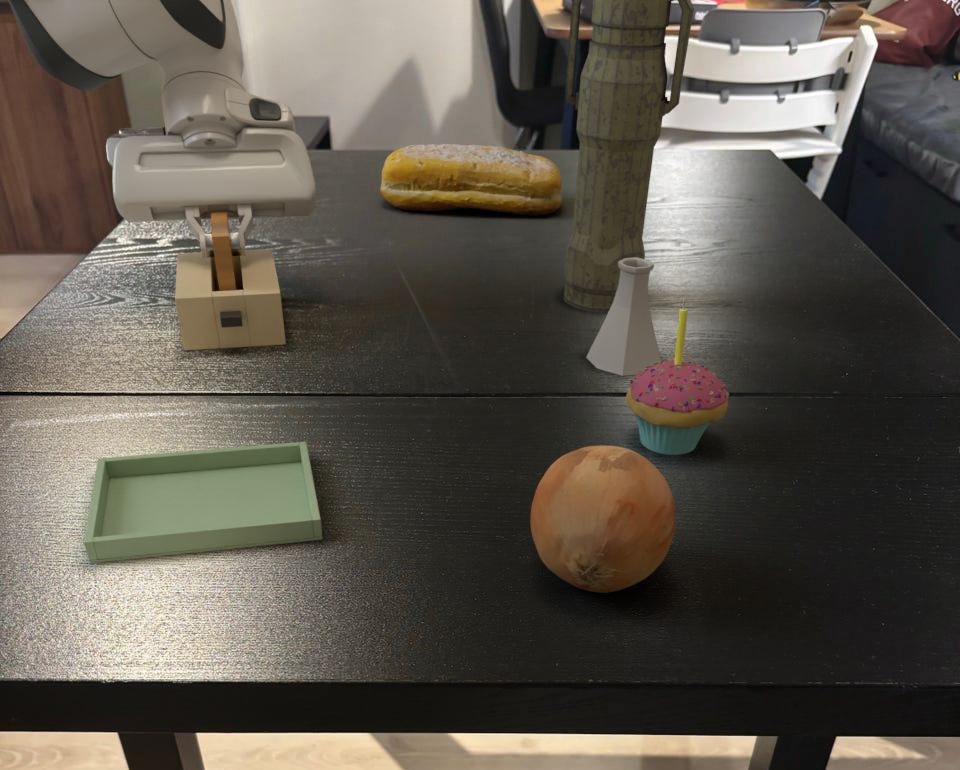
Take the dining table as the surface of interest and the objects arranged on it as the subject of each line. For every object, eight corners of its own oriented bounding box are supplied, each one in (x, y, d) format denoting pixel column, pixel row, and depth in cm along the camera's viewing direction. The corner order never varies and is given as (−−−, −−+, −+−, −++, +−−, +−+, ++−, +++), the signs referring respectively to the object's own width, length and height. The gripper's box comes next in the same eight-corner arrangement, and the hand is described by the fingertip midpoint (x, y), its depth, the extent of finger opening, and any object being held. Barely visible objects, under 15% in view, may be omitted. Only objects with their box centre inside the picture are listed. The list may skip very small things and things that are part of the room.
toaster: (186, 309, 104) (177, 253, 100) (278, 304, 106) (272, 249, 102) (185, 365, 92) (174, 304, 89) (287, 358, 94) (281, 298, 90)
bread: (384, 193, 144) (382, 135, 139) (556, 197, 144) (560, 140, 139) (378, 218, 133) (376, 157, 128) (563, 222, 134) (568, 161, 129)
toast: (224, 307, 103) (210, 210, 96) (239, 306, 103) (226, 210, 96) (226, 338, 96) (211, 236, 89) (242, 337, 96) (228, 235, 90)
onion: (658, 543, 70) (679, 419, 63) (670, 625, 62) (696, 494, 56) (528, 535, 70) (536, 411, 64) (524, 617, 62) (533, 485, 56)
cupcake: (608, 425, 85) (625, 291, 77) (697, 419, 86) (722, 287, 78) (638, 471, 78) (659, 330, 70) (734, 465, 79) (765, 325, 72)
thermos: (650, 319, 105) (706, -71, 83) (546, 310, 107) (573, -76, 84) (652, 293, 112) (705, -75, 90) (554, 285, 113) (582, -79, 91)
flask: (621, 383, 92) (634, 279, 85) (573, 358, 96) (582, 258, 90) (674, 367, 95) (690, 266, 89) (625, 344, 99) (637, 246, 93)
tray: (90, 566, 66) (83, 542, 64) (103, 480, 75) (97, 458, 73) (323, 542, 69) (320, 519, 67) (308, 463, 78) (306, 441, 76)
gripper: (97, 108, 92) (112, 242, 91) (306, 106, 96) (323, 233, 95) (110, 148, 98) (124, 274, 97) (306, 144, 102) (322, 265, 101)
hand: (224, 254), depth 96 cm, fingers closed on toast, 1 cm apart
